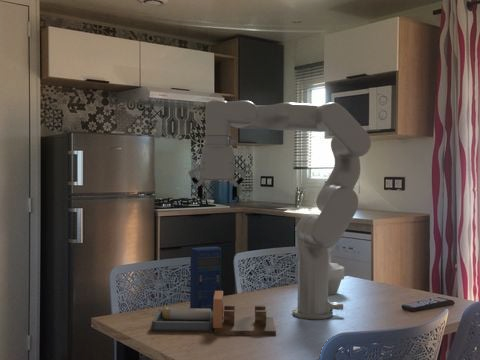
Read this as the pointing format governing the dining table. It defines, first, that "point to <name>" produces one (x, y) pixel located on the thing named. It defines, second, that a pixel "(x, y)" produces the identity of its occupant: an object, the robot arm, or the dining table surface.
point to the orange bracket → (218, 309)
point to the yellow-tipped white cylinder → (186, 314)
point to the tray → (181, 324)
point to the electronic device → (204, 276)
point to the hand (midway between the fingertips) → (217, 199)
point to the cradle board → (246, 323)
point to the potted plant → (334, 273)
